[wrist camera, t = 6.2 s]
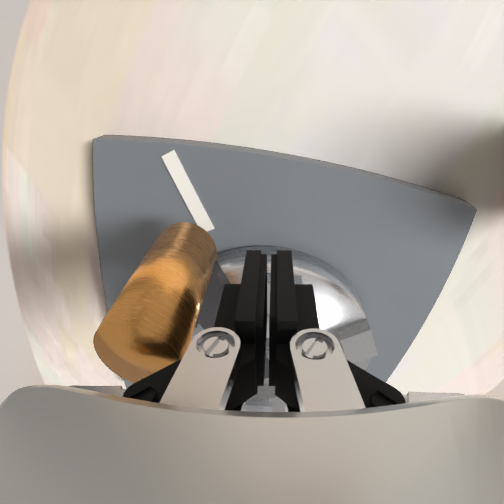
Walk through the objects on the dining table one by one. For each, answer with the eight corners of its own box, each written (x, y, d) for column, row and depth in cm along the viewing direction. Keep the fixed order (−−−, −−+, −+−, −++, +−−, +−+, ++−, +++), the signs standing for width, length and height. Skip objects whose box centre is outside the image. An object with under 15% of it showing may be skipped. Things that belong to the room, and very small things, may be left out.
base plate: (105, 135, 16) (92, 139, 15) (465, 201, 17) (477, 210, 15) (131, 379, 28) (126, 391, 27) (353, 409, 28) (355, 421, 27)
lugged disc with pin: (377, 362, 22) (404, 469, 13) (225, 402, 26) (212, 497, 17) (304, 151, 15) (350, 236, 6) (100, 249, 18) (15, 354, 10)
